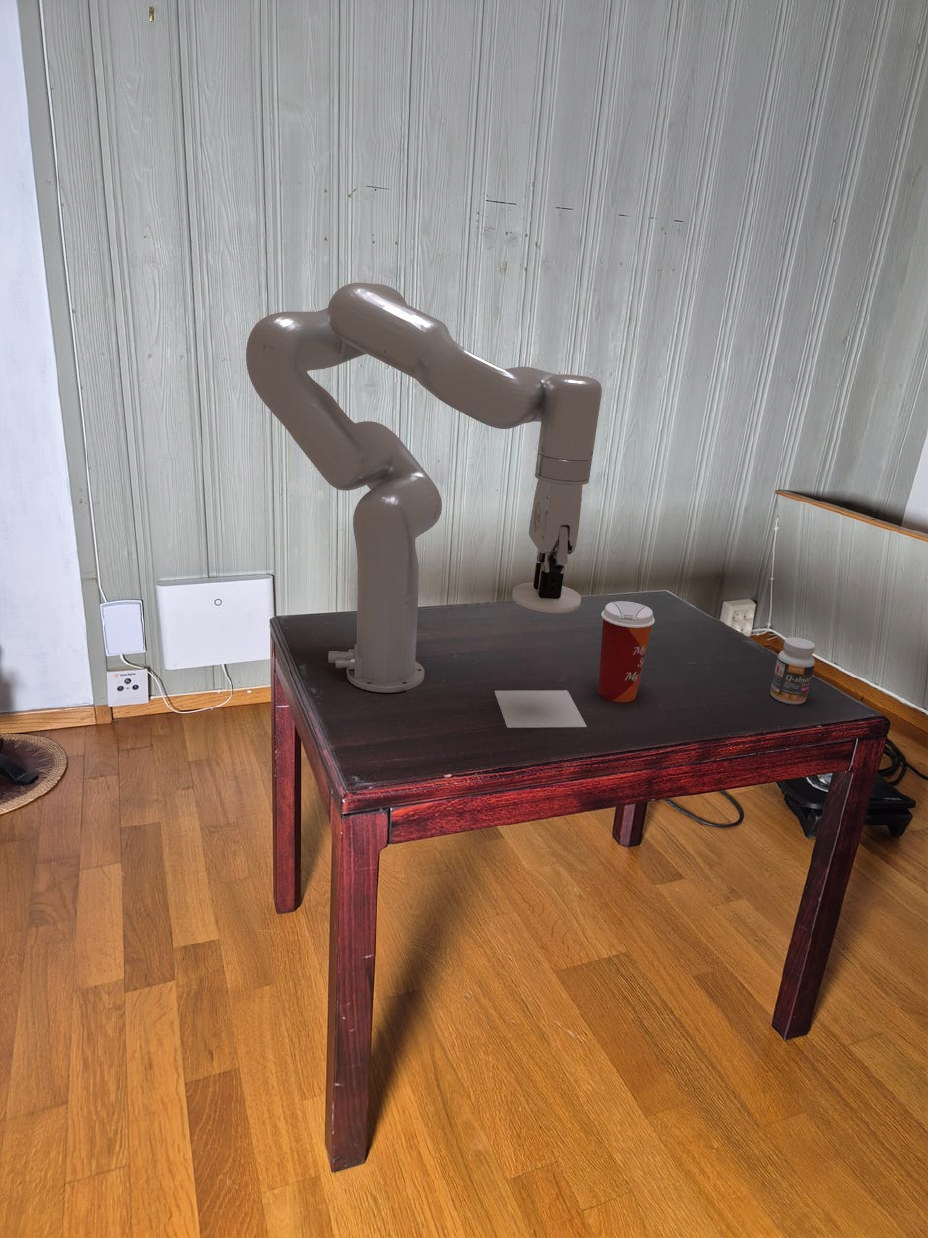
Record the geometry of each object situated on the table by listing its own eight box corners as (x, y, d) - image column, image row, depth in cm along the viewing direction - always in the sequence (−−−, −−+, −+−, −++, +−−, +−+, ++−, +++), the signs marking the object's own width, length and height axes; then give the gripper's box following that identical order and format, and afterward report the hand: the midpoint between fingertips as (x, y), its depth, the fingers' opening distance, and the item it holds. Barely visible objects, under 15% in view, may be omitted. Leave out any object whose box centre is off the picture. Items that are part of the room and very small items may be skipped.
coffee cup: (642, 710, 131) (656, 621, 126) (589, 703, 132) (601, 614, 127) (642, 688, 139) (655, 603, 133) (592, 681, 140) (603, 596, 135)
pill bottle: (783, 707, 135) (795, 650, 132) (762, 691, 141) (774, 636, 137) (813, 704, 137) (826, 648, 133) (791, 689, 142) (803, 634, 138)
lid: (519, 611, 117) (524, 574, 115) (506, 587, 126) (510, 552, 124) (588, 614, 119) (594, 577, 117) (570, 589, 128) (575, 555, 126)
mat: (507, 729, 123) (507, 727, 123) (494, 692, 134) (494, 690, 134) (586, 729, 124) (586, 726, 124) (567, 692, 135) (567, 690, 135)
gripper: (525, 454, 122) (511, 573, 129) (549, 480, 107) (532, 613, 114) (574, 458, 123) (558, 575, 130) (605, 483, 109) (585, 615, 115)
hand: (546, 592), depth 122 cm, fingers closed on lid, 2 cm apart
